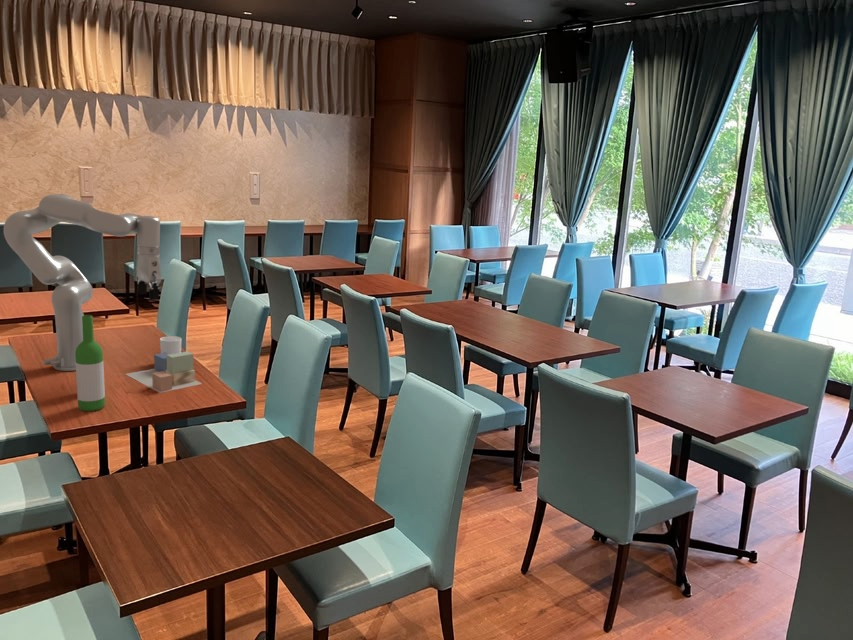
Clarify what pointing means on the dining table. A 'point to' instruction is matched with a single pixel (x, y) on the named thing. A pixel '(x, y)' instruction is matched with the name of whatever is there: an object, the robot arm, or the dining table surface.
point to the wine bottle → (89, 369)
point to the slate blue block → (160, 362)
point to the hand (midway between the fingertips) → (147, 297)
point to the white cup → (170, 344)
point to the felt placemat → (146, 379)
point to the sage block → (179, 362)
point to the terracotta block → (162, 381)
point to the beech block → (182, 377)
